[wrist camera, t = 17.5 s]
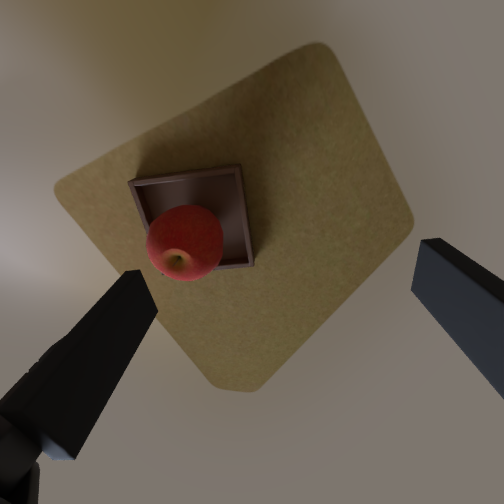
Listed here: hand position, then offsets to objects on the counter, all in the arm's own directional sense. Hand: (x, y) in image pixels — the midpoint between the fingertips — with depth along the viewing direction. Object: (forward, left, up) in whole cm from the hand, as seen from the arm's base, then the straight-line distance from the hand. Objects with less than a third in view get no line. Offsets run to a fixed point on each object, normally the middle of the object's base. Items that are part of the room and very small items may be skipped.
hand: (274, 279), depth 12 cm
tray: (+12, +7, -28) cm, 31 cm away
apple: (+12, +7, -28) cm, 31 cm away
